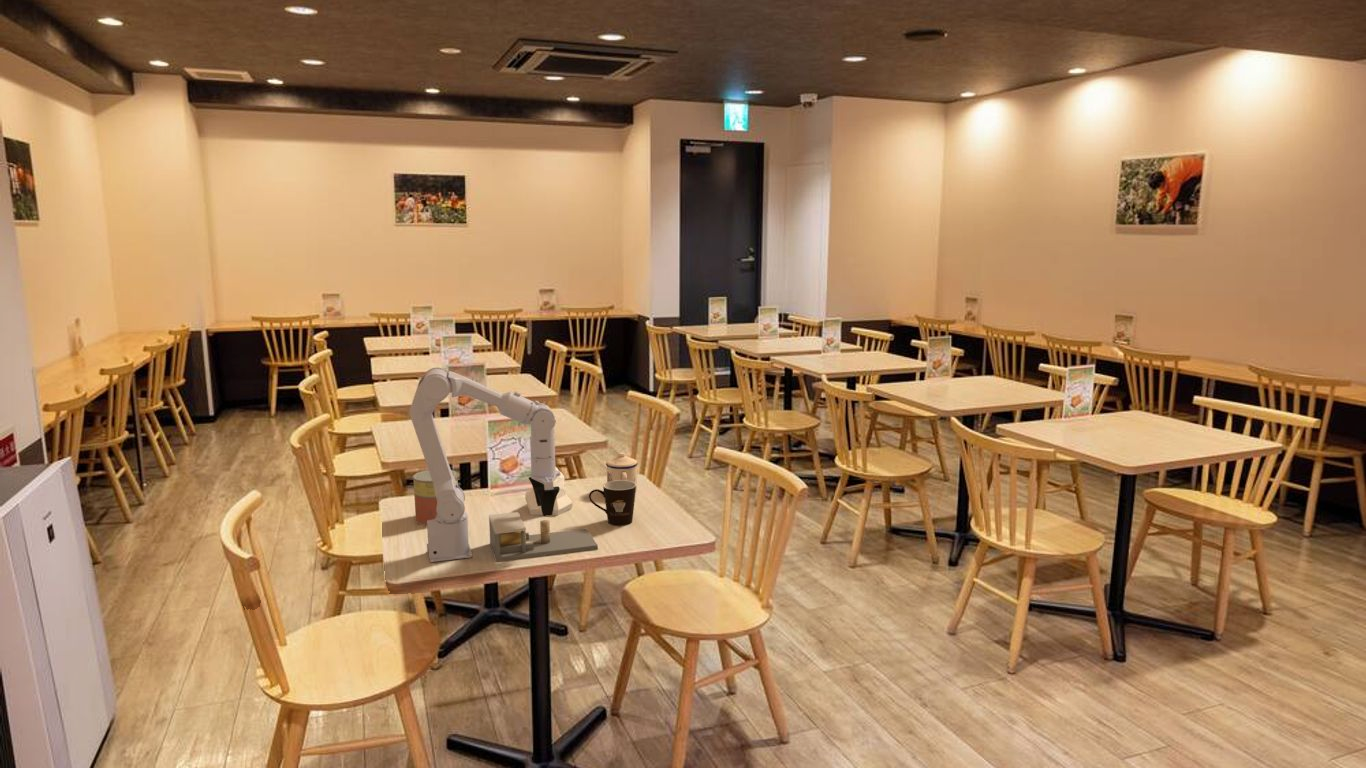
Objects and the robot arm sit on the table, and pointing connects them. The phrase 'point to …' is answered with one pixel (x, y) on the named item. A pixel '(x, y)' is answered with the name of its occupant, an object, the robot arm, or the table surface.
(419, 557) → the table surface
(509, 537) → the yellow block
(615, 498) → the coffee mug
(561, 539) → the plate
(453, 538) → the robot arm
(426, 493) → the canned food
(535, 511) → the cream faceted rock
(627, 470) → the teacup with lid
